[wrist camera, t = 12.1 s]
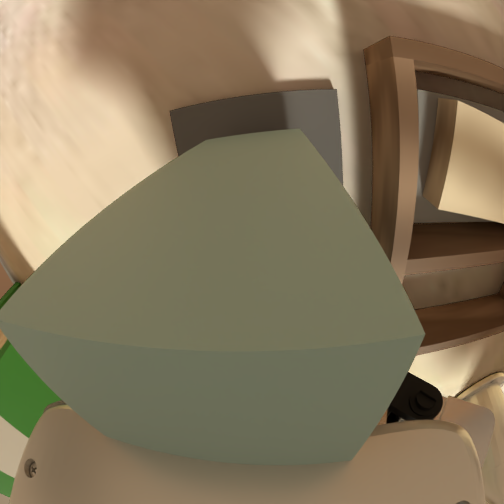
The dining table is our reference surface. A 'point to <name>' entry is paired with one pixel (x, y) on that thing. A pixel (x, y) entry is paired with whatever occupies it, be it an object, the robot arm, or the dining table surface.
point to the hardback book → (17, 405)
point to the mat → (265, 120)
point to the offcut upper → (466, 162)
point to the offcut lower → (427, 123)
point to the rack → (405, 188)
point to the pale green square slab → (224, 310)
